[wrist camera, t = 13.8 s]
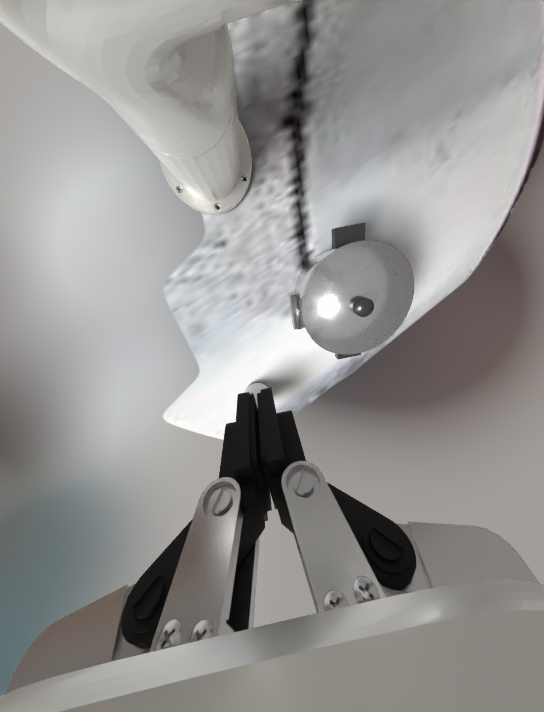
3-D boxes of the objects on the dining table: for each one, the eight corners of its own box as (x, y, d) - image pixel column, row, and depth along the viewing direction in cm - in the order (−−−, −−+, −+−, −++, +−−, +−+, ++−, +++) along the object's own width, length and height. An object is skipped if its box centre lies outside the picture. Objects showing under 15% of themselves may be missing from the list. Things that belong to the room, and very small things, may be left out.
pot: (276, 241, 34) (284, 237, 27) (378, 222, 35) (412, 213, 28) (291, 351, 44) (300, 370, 37) (371, 335, 44) (395, 351, 37)
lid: (288, 254, 28) (292, 254, 25) (415, 230, 28) (437, 226, 25) (300, 359, 36) (305, 370, 33) (400, 341, 36) (415, 350, 32)
